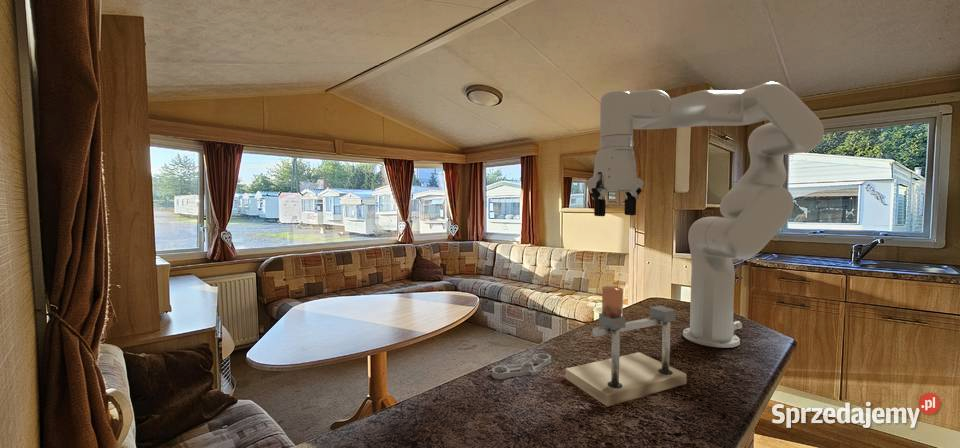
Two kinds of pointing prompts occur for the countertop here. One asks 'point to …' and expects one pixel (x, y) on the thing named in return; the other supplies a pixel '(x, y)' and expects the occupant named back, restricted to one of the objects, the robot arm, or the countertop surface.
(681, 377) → the board
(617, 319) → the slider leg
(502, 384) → the countertop surface
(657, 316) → the frame
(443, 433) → the countertop surface
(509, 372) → the bracket
